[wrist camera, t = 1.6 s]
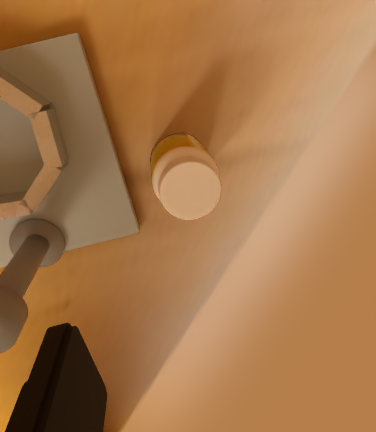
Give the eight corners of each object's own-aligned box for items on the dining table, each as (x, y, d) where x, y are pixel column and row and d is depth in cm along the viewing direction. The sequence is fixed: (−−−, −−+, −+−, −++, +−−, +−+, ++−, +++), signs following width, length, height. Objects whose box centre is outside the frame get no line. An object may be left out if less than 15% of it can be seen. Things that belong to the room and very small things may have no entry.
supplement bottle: (141, 172, 29) (140, 209, 22) (164, 121, 28) (171, 141, 20) (191, 194, 31) (206, 235, 23) (215, 146, 29) (240, 173, 21)
